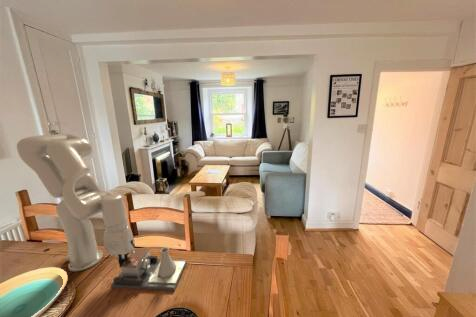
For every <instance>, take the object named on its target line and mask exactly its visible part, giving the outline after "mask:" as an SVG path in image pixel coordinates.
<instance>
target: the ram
mask: <svg viewBox="0 0 476 317" xmlns="http://www.w3.org/2000/svg"><path fill="white" fill-rule="evenodd" d="M134 250H135V252H134V253H133V254H129V256H128V258H127V259H126V260H125V261H124V263H123V264H122V265H121V268H120V270H121V272H122V274H123V277H126V278H140V277H141V276H142V274H143V273H144V272H145V270H148V269H149V267H150V263H151V257H150V256H151V249H150V248H144V247H143V248H140V247H138V248H134Z"/></svg>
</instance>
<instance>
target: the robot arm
mask: <svg viewBox="0 0 476 317" xmlns="http://www.w3.org/2000/svg"><path fill="white" fill-rule="evenodd" d="M16 151H17V153H18V156H19V157H20V159H21V160H22V161H23V163H24V164H25V165H27V166H28V167H29V168H30V169H31V170H32V171H34V172H35V174H36V175H37V177H38V178H39V179H40V181H41V184H42V185H43V186H44V187H45V189H46V191H47V192H48V193H49V194H50V196H51V197H53V198H56V199H60V198H62V199H63V200H61V201H59V203H57V205H56V206H55V212H56V215H57V216H58V219H59V220H60V222H61V225H62V228H63V231H64V236H65V240H66V243H67V245H68V246H67V247H68V252H66V254H67V255H66V256H64V258H65V259H67V260H69V263H68V265H67V266H68V270H69V271H70V272H80V271H85V270H87V269H89V268H91V267H93V266H95V265H96V264H98V263H99V262H100V261H101V260H102V258H103V256H104V253H103V251H102V250H100V249H98V244H97V241H96V235H95V230H94V225H93V222H92V221H91V220H90V218H92V217H94V216H95V215H98V214H100V213H102V214H101V215H102V218H103V223H102V226H103V227H104V228H105V230H104V231H103V247H104V252H105V253H106V255H107V254H108V255H113V256H115V259H116V260H117V261H118V264H119V265H118V266H119V268H120V269H121V265H122V264H123V263H124V261H125V260H126V259H127V258H128V257H129V256H128V255H131V254H133V253H134V252H135V245H136V242H135V238H134V234H133V232H132V229H131V226H130V225H129V222H128V216H127V212H126V207H125V201H124V197H123V195H122V194H119V193H113V192H111V191H109V190H103V191H102V189H101V188H100V186H99V185H98V183H97V182H96V180H95V179H94V177H93V176H92V175H91V173H90V172H91V168H90V166H89V165H88V163H87V162H86V161H85V160H84V158H85V157H90V156H91V154H92V152H93V148H92V145H91V143H90V142H89V141H88V140H87V139H85V138H83V137H80V136H76V135H73V134H69V133H58V134H57V133H55V134H43V135H33V136H28V137H24V138H21V139H20V140H19V141H18V142H17V144H16ZM79 192H82V193H79ZM77 193H78V194H77Z"/></svg>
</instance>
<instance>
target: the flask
mask: <svg viewBox="0 0 476 317" xmlns="http://www.w3.org/2000/svg"><path fill="white" fill-rule="evenodd" d="M169 250H170V248H169V247H165V246H164V247H162V248H161V249H160V251H159V252H160V254H161V258H160V259H161V264H160V267H159V271H158V276H160V277H169V276H171V275H172V274H173V273H174V272H175V271H176V265H175V263H174V262H173V260H174V259H172V257H171V256H170V253H169Z"/></svg>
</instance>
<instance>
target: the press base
mask: <svg viewBox="0 0 476 317" xmlns="http://www.w3.org/2000/svg"><path fill="white" fill-rule="evenodd" d="M150 257H151V263H150V267H149V269H148V270H145V272H144V273H143V274H142V276H141V277H140V278H126V277H123V274H122V271H121V272H119V274H118V276H115V277H114V278H113V280H112V281H113V282H112V283H110V287H111V288H112V289H124V290H125V289H127V290H129V289H130V290H149V291H150V290H151V291H166V292H167V291H168V292H169V291H170V292H171V291H172V292H175V290H176V288H177V285H178V284H179V281H180V279H181V277H182V274H183V272H184V270H185V268H186V265H187V264H188V263H187V259H172V260H173V262H174V263H175V265H176V271H175V272H174V273H173V274H172V275H171V276H169V277H160V276H158V271H159V267H160V264H161V258H160V259H159V258H158V255H150Z"/></svg>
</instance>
